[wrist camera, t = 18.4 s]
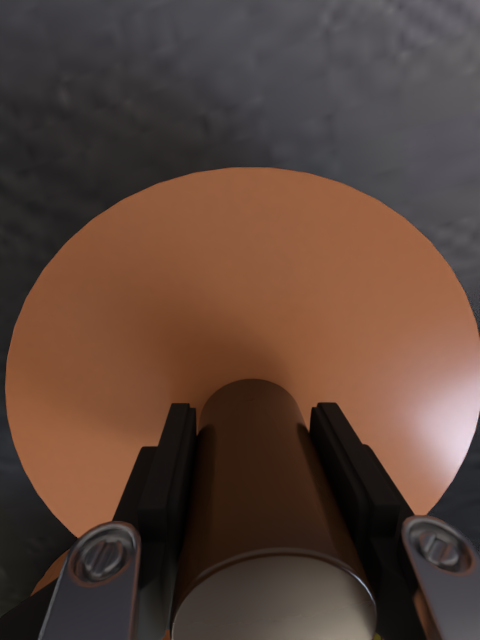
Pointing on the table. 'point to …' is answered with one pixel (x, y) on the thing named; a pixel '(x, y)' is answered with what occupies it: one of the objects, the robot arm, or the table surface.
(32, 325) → the pan lid
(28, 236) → the table surface
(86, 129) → the table surface
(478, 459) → the table surface
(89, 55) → the table surface
